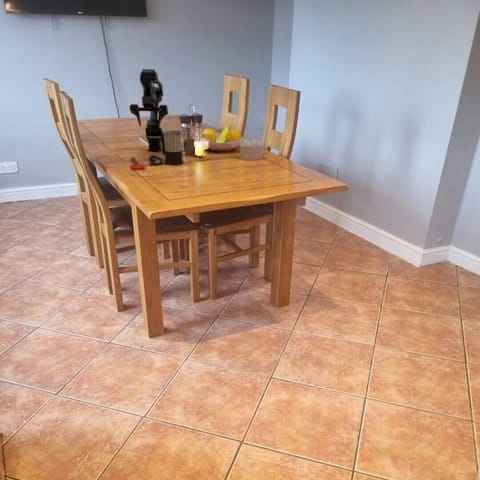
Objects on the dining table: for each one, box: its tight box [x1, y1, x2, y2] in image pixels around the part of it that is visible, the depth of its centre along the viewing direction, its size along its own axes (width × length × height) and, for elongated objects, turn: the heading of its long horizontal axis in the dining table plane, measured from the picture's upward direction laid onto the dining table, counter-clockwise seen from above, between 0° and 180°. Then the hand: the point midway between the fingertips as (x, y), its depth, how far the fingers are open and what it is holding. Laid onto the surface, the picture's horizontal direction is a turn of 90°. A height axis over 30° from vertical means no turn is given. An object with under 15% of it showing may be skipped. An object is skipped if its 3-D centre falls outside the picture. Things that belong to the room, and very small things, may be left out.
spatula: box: [130, 156, 146, 171], centre depth 224 cm, size 21×6×1 cm, turn 19°
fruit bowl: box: [201, 123, 245, 152], centre depth 257 cm, size 28×27×11 cm
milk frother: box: [147, 129, 184, 166], centre depth 224 cm, size 14×16×15 cm
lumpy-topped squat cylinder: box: [238, 138, 265, 161], centre depth 240 cm, size 10×13×9 cm
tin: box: [183, 137, 201, 158], centre depth 242 cm, size 15×3×8 cm, turn 47°
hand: (149, 126), depth 229 cm, fingers open, 9 cm apart
